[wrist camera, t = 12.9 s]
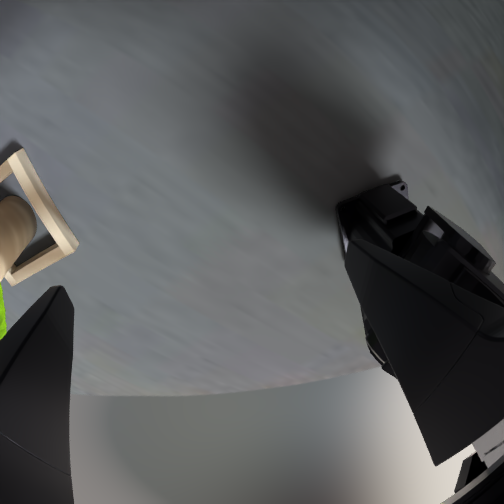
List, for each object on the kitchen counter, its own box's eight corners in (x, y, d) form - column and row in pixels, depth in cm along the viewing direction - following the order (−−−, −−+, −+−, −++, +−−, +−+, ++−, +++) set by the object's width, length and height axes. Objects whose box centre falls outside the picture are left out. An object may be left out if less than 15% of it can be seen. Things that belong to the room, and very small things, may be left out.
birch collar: (79, 243, 21) (74, 251, 20) (17, 278, 22) (12, 286, 21) (23, 147, 16) (15, 152, 15) (-34, 202, 17) (-41, 208, 16)
